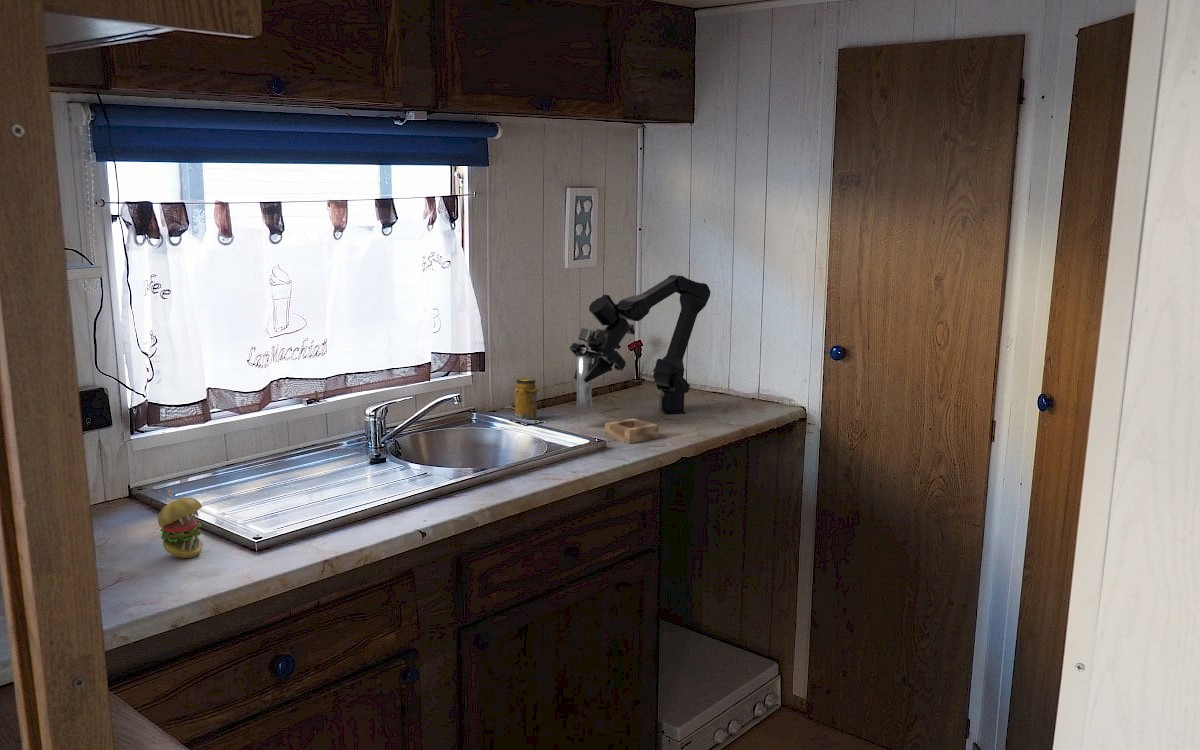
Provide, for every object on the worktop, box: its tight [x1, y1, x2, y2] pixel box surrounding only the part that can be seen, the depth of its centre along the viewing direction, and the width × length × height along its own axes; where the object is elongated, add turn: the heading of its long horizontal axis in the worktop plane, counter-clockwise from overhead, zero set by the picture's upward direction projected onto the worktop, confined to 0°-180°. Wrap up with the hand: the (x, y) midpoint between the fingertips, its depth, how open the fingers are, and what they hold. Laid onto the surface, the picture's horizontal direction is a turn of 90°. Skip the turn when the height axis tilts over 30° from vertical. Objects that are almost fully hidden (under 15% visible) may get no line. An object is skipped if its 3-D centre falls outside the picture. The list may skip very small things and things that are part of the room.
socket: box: [604, 417, 659, 445], centre depth 271 cm, size 10×10×4 cm
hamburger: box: [157, 489, 204, 559], centre depth 182 cm, size 8×7×12 cm
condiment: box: [514, 377, 546, 423], centre depth 286 cm, size 7×8×12 cm
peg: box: [576, 355, 593, 409], centre depth 279 cm, size 4×4×14 cm
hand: (580, 380), depth 278 cm, fingers closed on peg, 4 cm apart
